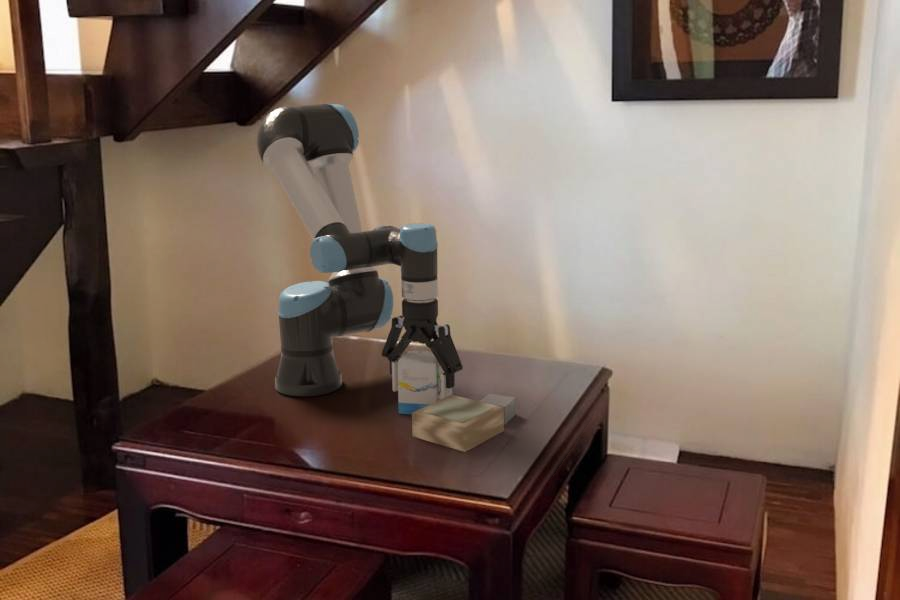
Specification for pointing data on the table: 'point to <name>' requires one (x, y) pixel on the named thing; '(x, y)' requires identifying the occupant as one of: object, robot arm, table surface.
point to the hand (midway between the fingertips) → (421, 395)
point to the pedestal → (458, 422)
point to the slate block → (502, 404)
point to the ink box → (418, 381)
